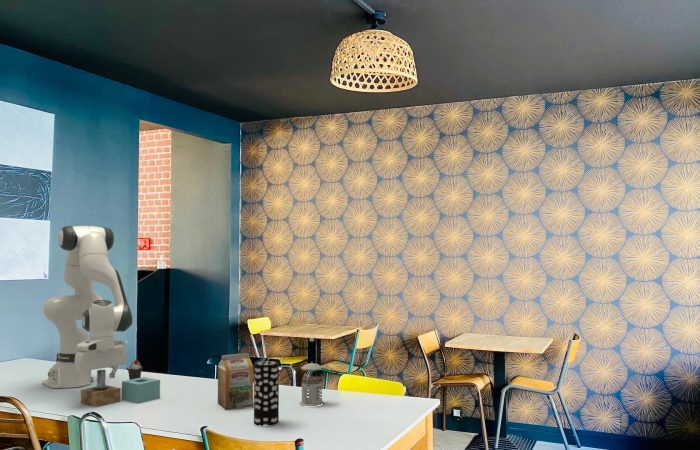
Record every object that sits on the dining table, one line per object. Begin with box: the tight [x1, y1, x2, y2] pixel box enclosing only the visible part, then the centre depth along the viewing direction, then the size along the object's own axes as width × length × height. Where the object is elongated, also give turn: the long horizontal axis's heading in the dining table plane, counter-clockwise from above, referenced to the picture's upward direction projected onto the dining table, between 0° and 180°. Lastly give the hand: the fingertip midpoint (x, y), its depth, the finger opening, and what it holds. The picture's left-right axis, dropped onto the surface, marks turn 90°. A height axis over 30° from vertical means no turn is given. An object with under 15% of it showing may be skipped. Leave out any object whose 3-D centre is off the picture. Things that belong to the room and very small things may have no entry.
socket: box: [80, 384, 122, 408], centre depth 231 cm, size 10×10×6 cm
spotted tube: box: [253, 360, 280, 427], centre depth 207 cm, size 8×8×20 cm
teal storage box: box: [121, 376, 161, 404], centre depth 236 cm, size 10×10×8 cm
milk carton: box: [217, 352, 254, 411], centre depth 231 cm, size 11×11×19 cm
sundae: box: [125, 356, 144, 380], centre depth 251 cm, size 7×7×15 cm
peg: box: [96, 369, 106, 391], centre depth 231 cm, size 3×3×12 cm
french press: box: [298, 337, 325, 407], centre depth 232 cm, size 10×12×25 cm
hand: (101, 379), depth 231 cm, fingers open, 8 cm apart
